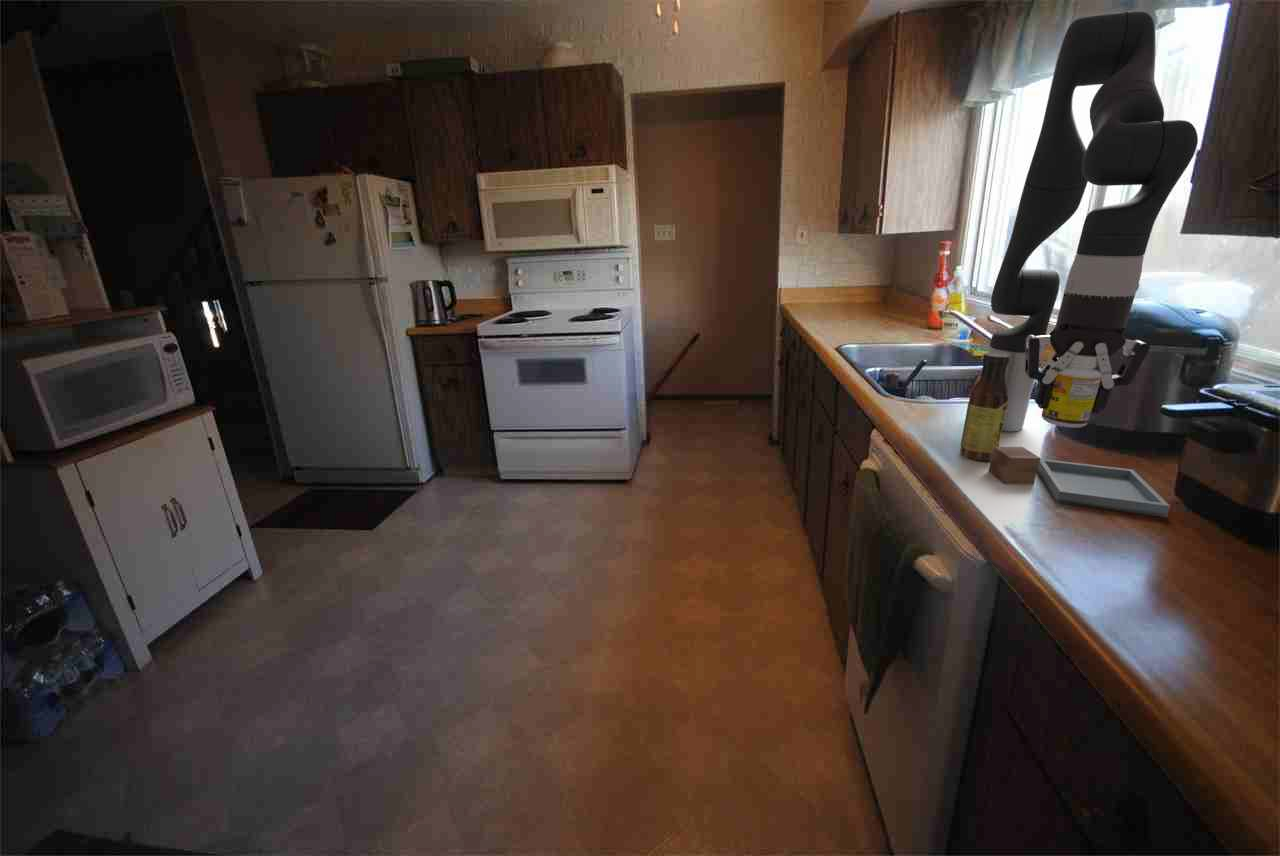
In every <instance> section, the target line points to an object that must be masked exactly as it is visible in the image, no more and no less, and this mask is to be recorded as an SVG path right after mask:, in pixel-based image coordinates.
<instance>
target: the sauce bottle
mask: <svg viewBox="0 0 1280 856" xmlns="http://www.w3.org/2000/svg"><path fill="white" fill-rule="evenodd" d="M1009 358H1010V357H1009V355H1006V354H1001V353H988V352H987V353H984V355H983V357H982V369H981V373H980V378H979V380H978V381H977V382H975V384H974V385H973V386H972V387H971V390H970V394H969V400H968V403H967V408H966V413H965V419H964V424H963V430H962V436H961V442H960V454H961V455H962V456H963V457H965V458H966V459H968V460H969V459H970V460H974V461H979V462H989V461H990V462H991V457H992V453H993V449H994V447H1000V446H999V445H1000V444H1001V443H1000V442H1001V437H1002V432H1003V431H1002V429H1003V423H1004V419H1005V414H1006V409H1007V404H1008V393H1007V388H1006V382H1005V373H1006V367H1007V364H1008V363H1009Z"/></svg>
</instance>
